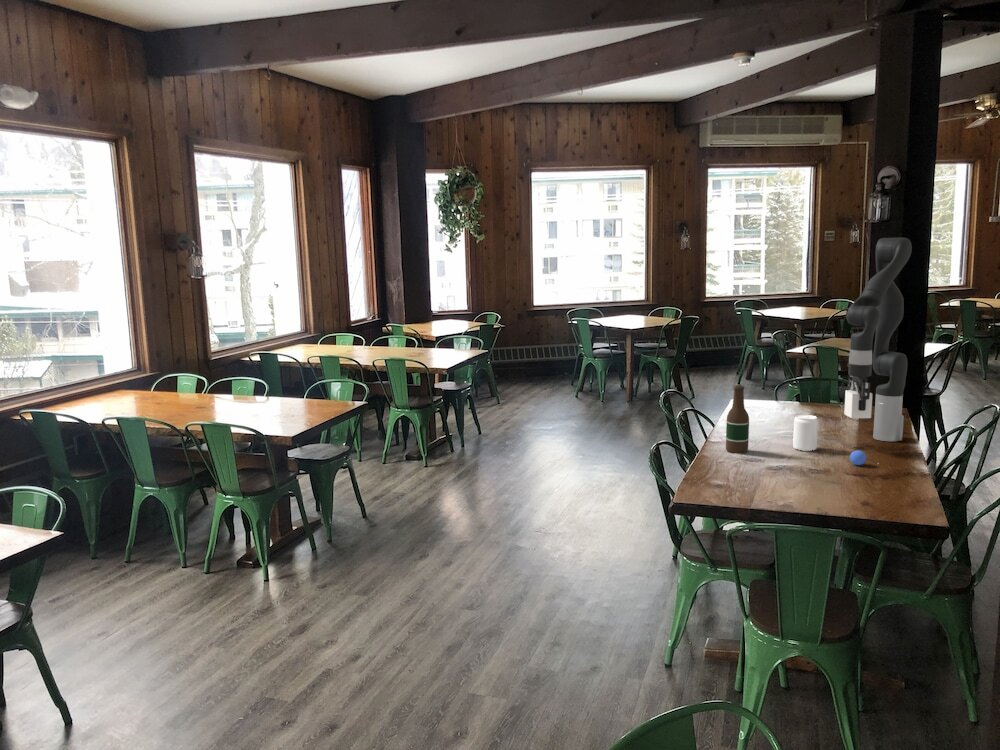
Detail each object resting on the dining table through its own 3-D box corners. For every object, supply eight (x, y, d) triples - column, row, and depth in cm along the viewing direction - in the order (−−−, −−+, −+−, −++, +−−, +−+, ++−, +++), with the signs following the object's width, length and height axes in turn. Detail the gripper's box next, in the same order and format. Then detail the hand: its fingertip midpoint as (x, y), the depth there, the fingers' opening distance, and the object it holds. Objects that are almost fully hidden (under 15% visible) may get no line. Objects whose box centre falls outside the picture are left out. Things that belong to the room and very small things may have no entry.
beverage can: (818, 452, 289) (820, 419, 287) (794, 451, 291) (796, 418, 289) (814, 446, 297) (816, 414, 295) (791, 445, 299) (792, 414, 297)
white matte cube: (863, 414, 292) (864, 390, 290) (871, 418, 285) (872, 393, 284) (844, 414, 292) (845, 390, 291) (851, 418, 286) (852, 393, 284)
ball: (862, 463, 275) (863, 448, 274) (868, 467, 270) (869, 452, 269) (847, 462, 275) (848, 448, 274) (852, 467, 270) (853, 452, 270)
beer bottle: (748, 449, 295) (750, 384, 291) (747, 454, 288) (750, 388, 284) (726, 447, 297) (728, 383, 293) (724, 453, 290) (727, 387, 286)
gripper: (879, 365, 278) (876, 412, 281) (863, 359, 292) (860, 404, 295) (857, 365, 279) (854, 412, 281) (842, 359, 293) (839, 404, 296)
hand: (857, 408), depth 288 cm, fingers closed on white matte cube, 7 cm apart
